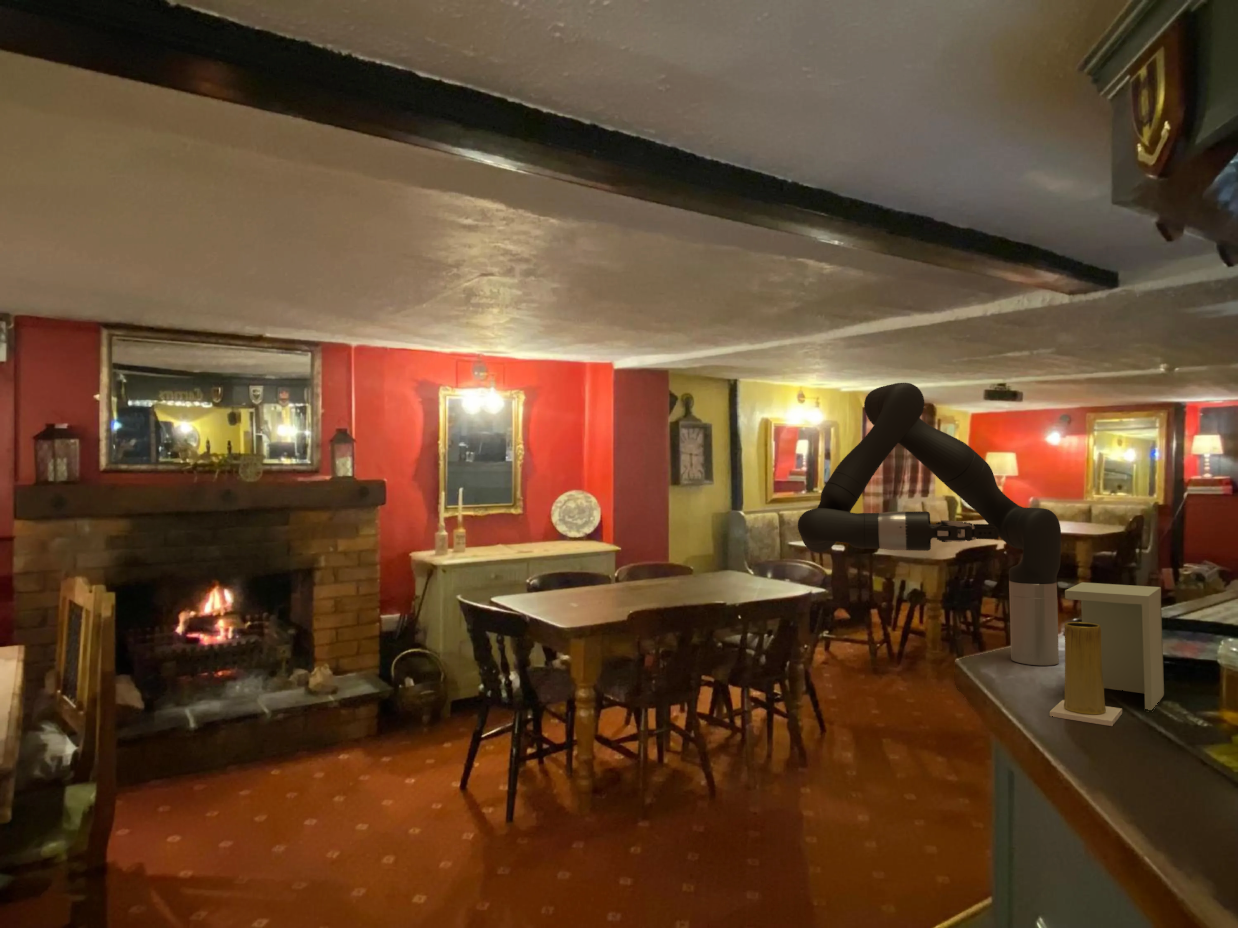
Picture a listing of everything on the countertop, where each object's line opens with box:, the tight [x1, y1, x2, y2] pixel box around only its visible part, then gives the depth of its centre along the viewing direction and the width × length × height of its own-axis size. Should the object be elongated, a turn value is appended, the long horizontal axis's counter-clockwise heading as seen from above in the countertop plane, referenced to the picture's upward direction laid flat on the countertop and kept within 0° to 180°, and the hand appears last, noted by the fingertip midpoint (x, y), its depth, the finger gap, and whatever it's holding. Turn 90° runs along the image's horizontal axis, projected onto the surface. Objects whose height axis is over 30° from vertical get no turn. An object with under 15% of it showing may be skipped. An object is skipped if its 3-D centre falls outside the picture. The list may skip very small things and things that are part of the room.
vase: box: [1064, 621, 1106, 715], centre depth 136 cm, size 6×6×14 cm
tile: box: [1049, 699, 1123, 727], centre depth 135 cm, size 9×9×1 cm
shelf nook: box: [1064, 581, 1165, 710], centre depth 146 cm, size 14×13×20 cm
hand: (996, 531), depth 151 cm, fingers open, 8 cm apart
